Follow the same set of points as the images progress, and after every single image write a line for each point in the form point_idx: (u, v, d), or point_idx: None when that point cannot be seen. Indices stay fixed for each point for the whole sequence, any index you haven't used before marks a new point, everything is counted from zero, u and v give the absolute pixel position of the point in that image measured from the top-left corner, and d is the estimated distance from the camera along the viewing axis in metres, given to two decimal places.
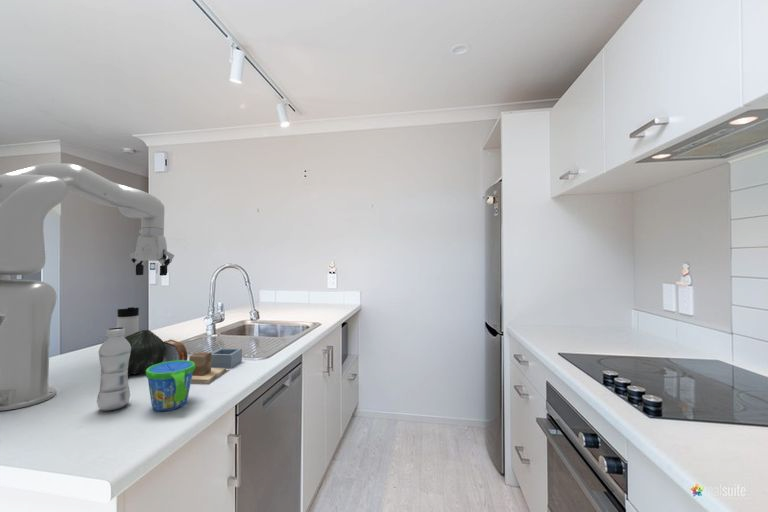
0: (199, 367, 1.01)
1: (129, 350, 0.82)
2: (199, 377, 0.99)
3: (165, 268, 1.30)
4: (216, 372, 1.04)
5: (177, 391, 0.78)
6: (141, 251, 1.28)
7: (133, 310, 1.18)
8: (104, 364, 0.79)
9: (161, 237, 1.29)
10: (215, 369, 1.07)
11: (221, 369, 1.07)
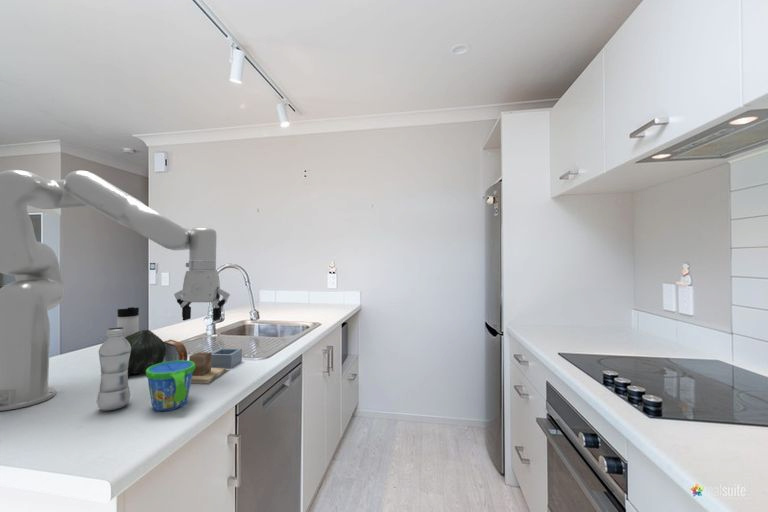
0: (199, 367, 1.01)
1: (129, 350, 0.82)
2: (199, 377, 0.99)
3: (219, 311, 1.03)
4: (216, 372, 1.04)
5: (177, 391, 0.78)
6: (190, 291, 1.01)
7: (133, 310, 1.18)
8: (104, 364, 0.79)
9: (214, 272, 1.03)
10: (215, 369, 1.07)
11: (221, 369, 1.07)
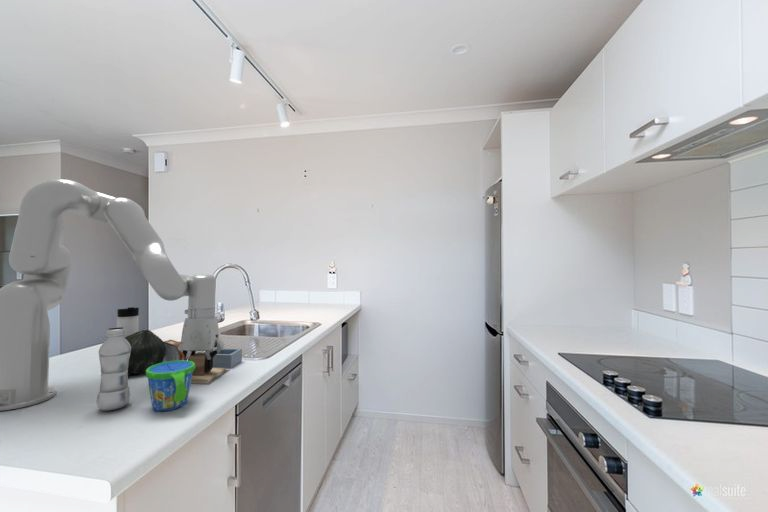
0: (199, 367, 1.01)
1: (129, 350, 0.82)
2: (199, 377, 0.99)
3: (211, 362, 1.03)
4: (216, 372, 1.04)
5: (177, 391, 0.78)
6: (189, 339, 1.01)
7: (133, 310, 1.18)
8: (104, 364, 0.79)
9: (213, 320, 1.02)
10: (215, 369, 1.07)
11: (221, 369, 1.07)
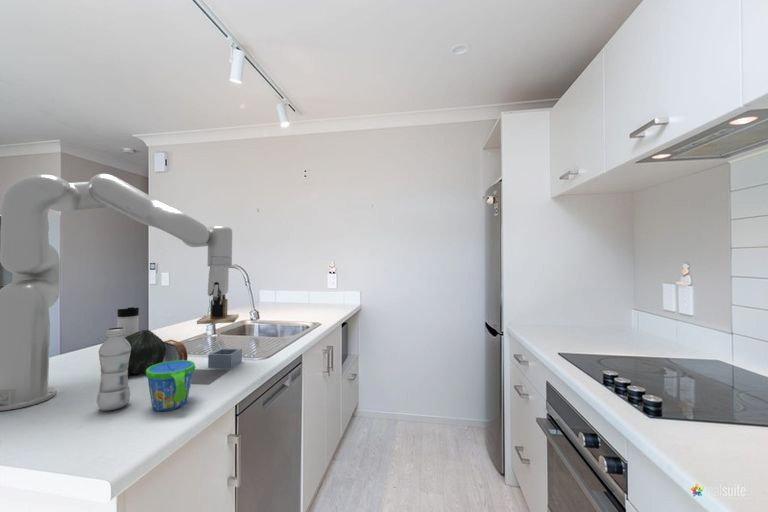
0: None
1: (129, 350, 0.82)
2: (205, 318, 1.08)
3: (216, 308, 1.08)
4: (219, 319, 1.07)
5: (177, 391, 0.78)
6: None
7: (133, 310, 1.18)
8: (104, 364, 0.79)
9: (213, 268, 1.07)
10: (229, 318, 1.10)
11: (229, 319, 1.08)
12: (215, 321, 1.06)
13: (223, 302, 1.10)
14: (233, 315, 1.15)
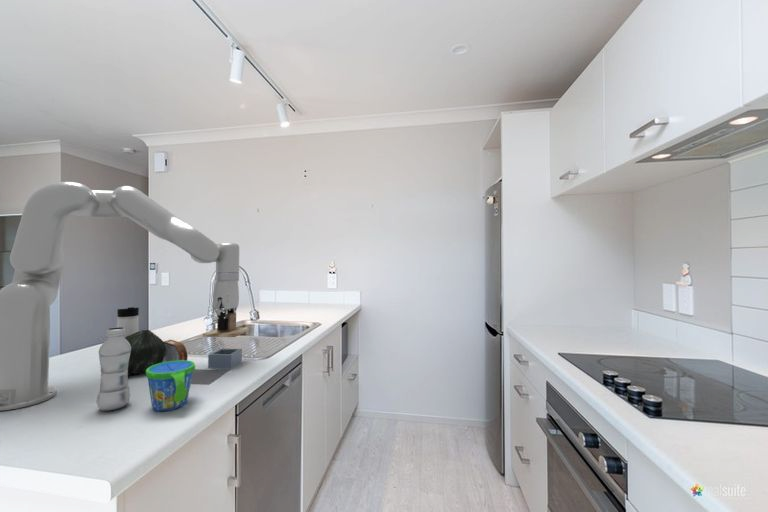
0: None
1: (129, 350, 0.82)
2: (213, 331, 1.14)
3: (220, 322, 1.12)
4: (222, 333, 1.11)
5: (177, 391, 0.78)
6: None
7: (133, 310, 1.18)
8: (104, 364, 0.79)
9: (217, 283, 1.11)
10: (233, 332, 1.13)
11: (231, 333, 1.11)
12: (218, 335, 1.10)
13: (228, 316, 1.13)
14: (242, 328, 1.18)
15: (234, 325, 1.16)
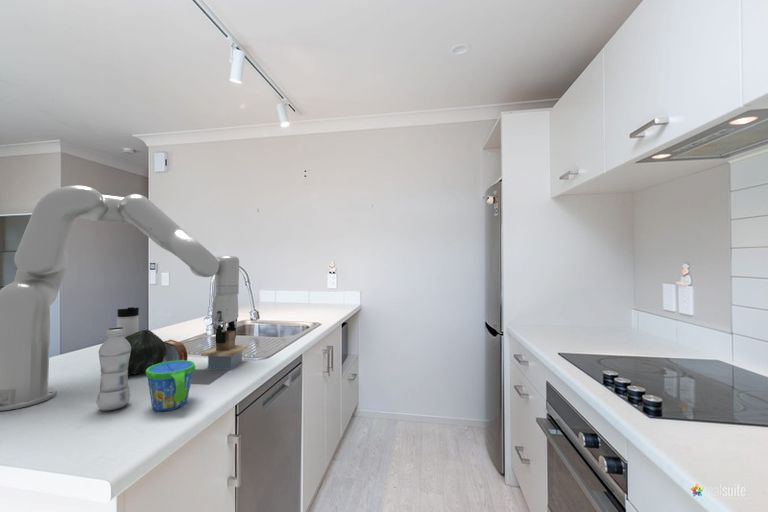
0: None
1: (129, 350, 0.82)
2: (212, 350, 1.13)
3: (218, 335, 1.11)
4: (221, 352, 1.10)
5: (177, 391, 0.78)
6: None
7: (133, 310, 1.18)
8: (104, 364, 0.79)
9: (217, 297, 1.11)
10: (232, 351, 1.12)
11: (229, 352, 1.10)
12: (217, 354, 1.10)
13: (227, 335, 1.13)
14: (241, 346, 1.18)
15: (233, 343, 1.16)
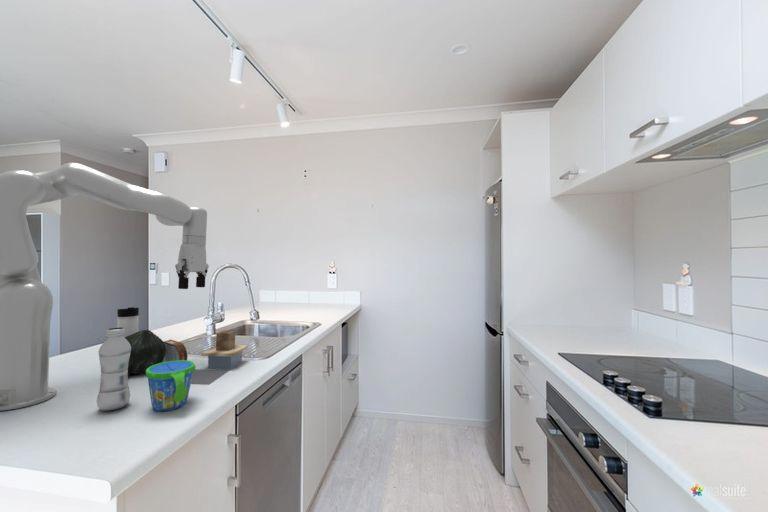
0: None
1: (129, 350, 0.82)
2: (212, 350, 1.13)
3: (180, 280, 1.12)
4: (221, 352, 1.10)
5: (177, 391, 0.78)
6: None
7: (133, 310, 1.18)
8: (104, 364, 0.79)
9: (182, 245, 1.14)
10: (232, 351, 1.12)
11: (229, 352, 1.10)
12: (217, 354, 1.10)
13: (227, 335, 1.13)
14: (241, 346, 1.18)
15: (233, 343, 1.16)
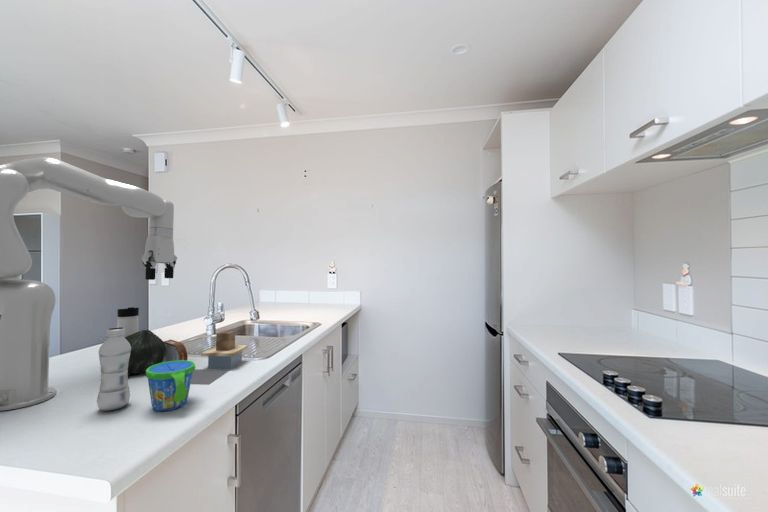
0: None
1: (129, 350, 0.82)
2: (212, 350, 1.13)
3: (147, 271, 1.15)
4: (221, 352, 1.10)
5: (177, 391, 0.78)
6: None
7: (133, 310, 1.18)
8: (104, 364, 0.79)
9: (149, 237, 1.17)
10: (232, 351, 1.12)
11: (229, 352, 1.10)
12: (217, 354, 1.10)
13: (227, 335, 1.13)
14: (241, 346, 1.18)
15: (233, 343, 1.16)
